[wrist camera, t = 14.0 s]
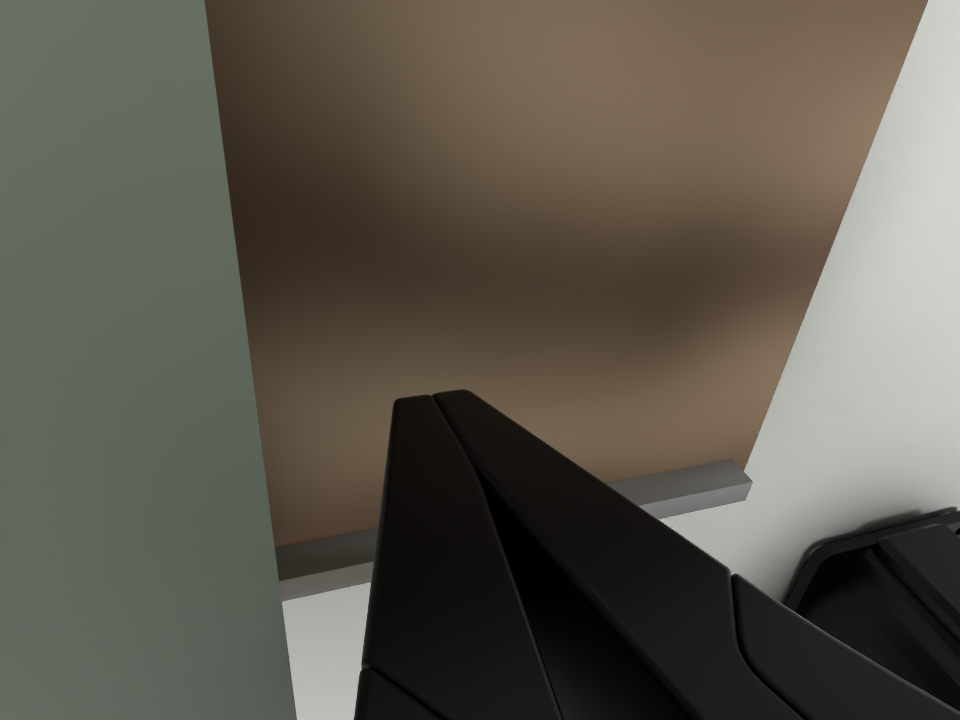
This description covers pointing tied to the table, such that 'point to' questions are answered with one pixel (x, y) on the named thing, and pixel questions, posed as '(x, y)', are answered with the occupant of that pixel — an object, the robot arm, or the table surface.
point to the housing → (126, 382)
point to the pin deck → (533, 229)
